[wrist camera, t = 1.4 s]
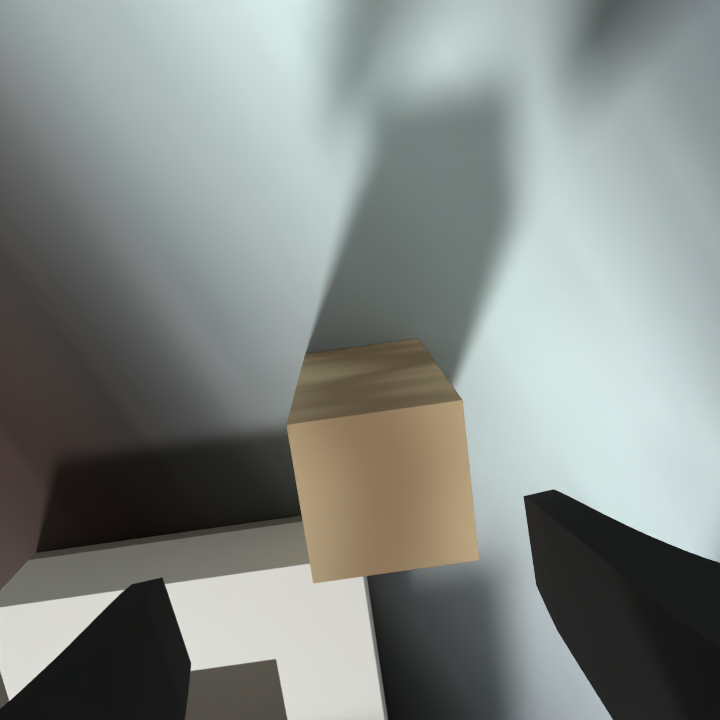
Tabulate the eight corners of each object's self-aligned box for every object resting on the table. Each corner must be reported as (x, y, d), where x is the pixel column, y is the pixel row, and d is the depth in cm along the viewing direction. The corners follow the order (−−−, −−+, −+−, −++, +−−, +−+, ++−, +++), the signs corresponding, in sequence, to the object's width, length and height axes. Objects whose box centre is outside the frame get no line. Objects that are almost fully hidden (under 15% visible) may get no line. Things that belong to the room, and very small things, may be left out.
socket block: (357, 507, 23) (360, 556, 20) (396, 775, 26) (405, 860, 22) (35, 553, 23) (-18, 609, 20) (106, 817, 26) (70, 908, 22)
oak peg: (418, 338, 22) (462, 399, 14) (431, 445, 23) (479, 560, 15) (305, 354, 22) (286, 424, 14) (322, 460, 23) (313, 583, 15)
